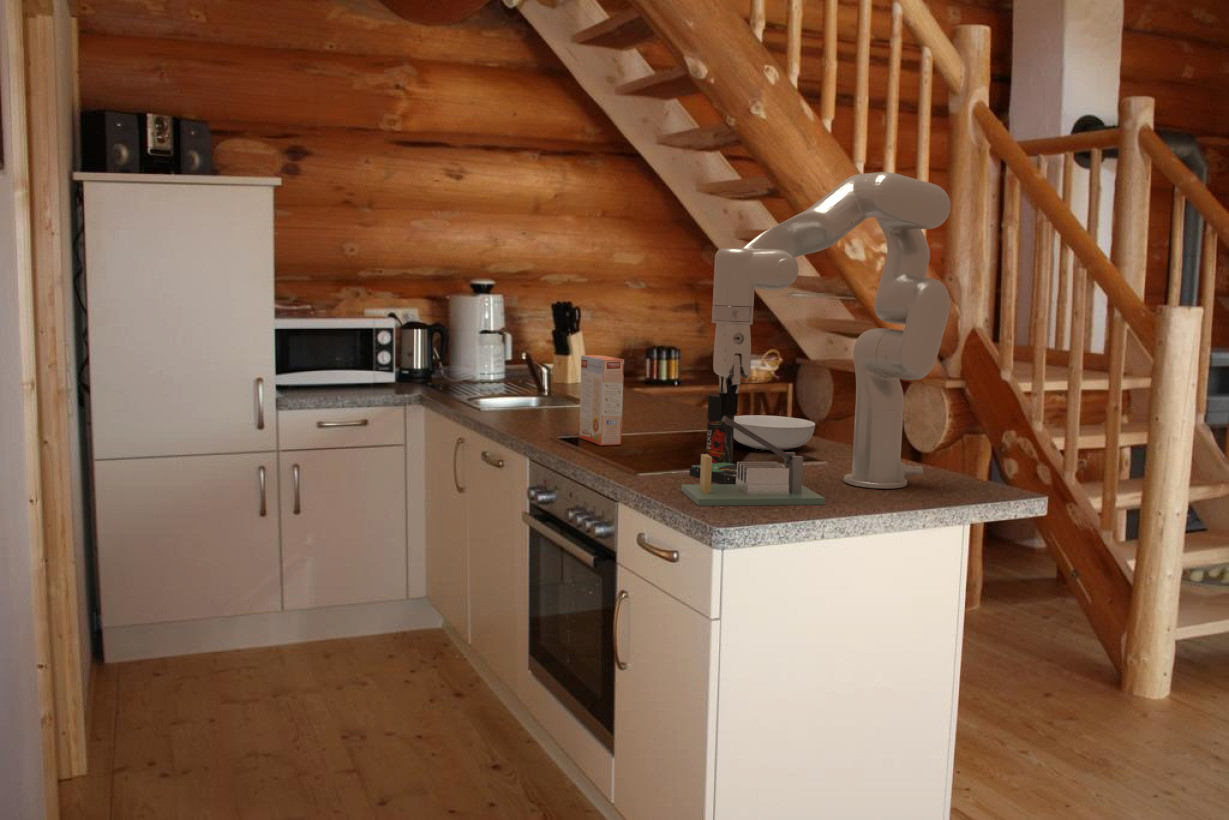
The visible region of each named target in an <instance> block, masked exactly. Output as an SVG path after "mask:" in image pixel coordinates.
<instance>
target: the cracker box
mask: <svg viewBox="0 0 1229 820" xmlns="http://www.w3.org/2000/svg"><path fill="white" fill-rule="evenodd" d="M580 356H581V359H580V360H581V361H580V362H581V363H580V394H579V395H580V398H579V425H578V426H579V428H578V429H579V431H578V432H579V433H578V438H580V439H582V440H585V441H588V442H590V443H593V444H596V445H598V446H601V447H604V446H605V447H606V446H608V447H609V446H621V445H622V429H623V428H622V427H623V426H622V425H623V402H624V401H623V399H624V372H625V359H623V358H618V357H613V356H609V355H602V354H583V355H582V354H581V355H580Z"/></svg>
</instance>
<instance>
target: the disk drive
mask: <svg viewBox="0 0 1229 820" xmlns="http://www.w3.org/2000/svg"><path fill="white" fill-rule="evenodd" d="M700 471H701V464H696V465H695V464H691V467H690V468H689V476H691V477H695V478H699V479H700ZM736 477H737V463H735V462H732V463H730V462H721V463H712V473H711V483H717V484H736Z"/></svg>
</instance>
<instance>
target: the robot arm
mask: <svg viewBox="0 0 1229 820" xmlns="http://www.w3.org/2000/svg"><path fill="white" fill-rule="evenodd" d="M951 208H952V207H951V200H950V196H949V195H948V193H947V191H945V190H944V189H943V188H942V187H941V186H939V185H938V184H934V183H932V182H928V181H924V180H920V179H917V178H913V177H910V176H906V175H903V174H900V173H894V172H888V171H884V172H883V171H881V172H870V173H869V172H868V173H867V172H865V173H858V174H854V175H851V176H849V177H847V178H846V179H844V180H843V181H841V182H840V183H839V184H838V185H836V186H835V187H834V188H833V189H831V190H830V191H828V193H827V194H825V195H824V196H822V197H821V198H820V199H819V200H818V201H816V202H815V203H814V204H813V205H811V206H810V207H808V208H807V209H805V210H804V211H802V212H801V213H798V214H796V215H794V216H792V217H790V218H788V219H786V220H784V221H783V222H780V223H778V224H777V225H776V224H775V226H772V227H770V228H769V229H767V230H765V231H763V232H761V233H760V234H759V235H757V236H756V237H754V238H753V239H752V240H751V241H749V242H748V243H747V244H746V245H744V246H743V247H742V248H735V247H734V248H730V247H729V248H728V247H727V248H720V249H718V250H717V251H716V253H715V254H714V268H713V269H714V271H713V272H714V273H713V293H712V295H713V296H712V307H711V308H712V309H711V310H712V312H711V313H712V314H711V324H716V325H715V332H714V343H713V344H714V345H713V357H712V359H713V360H712V361H713V363H712V366H713V370H712V371H713V372H714V373H715V374H716V375H718V382H719V387H718V388H719V392H718V394H719V410H718V412H719V414H721V415H734V416H738V408H739V406H738V403H739V389H740V385H741V378H744V379H749V378H750V376H751V375H752V374H751V372H752V371H751V370H752V366H751V365H752V343H751V342H752V336H751V327H750V326H751V325H753V323H754V322H753V321H754V320H753V319H754V306H755V305H754V304H755V303H754V302H755V290H757V289H758V290H761V289H762V290H767V291H768V290H771V291H777V290H779V291H780V290H784V289H786V288H788V287H789V286H790V287H791V285H792V284H794V282H795V281H796V280H797V278H798V276H799V264H798V261H797V259H796V258H798V257H801V256H805V255H809V254H813V253H814V254H815V253H817V252H820V251H823V250H825V249H828V248H831V247H833V246H834V245H836V244H837V243H838V242H839V241H840V240H842V239H843V238H844V237H845V236H846V235H848V234H849V233H851V231H853V230H854V229H855V228H856V227H858V226H859V225H860V224H862V223H863V222H864V221H865V220H867V219H870V218H875V220H876V222H877V224H878V225H879V227H880V229H881V231H882V233H883V235H884V237H885V242H886V248H887V250H886V251H887V252H886V257H885V261H884V266H883V270H882V273H881V275H880V276H881V277H880V279H879V283H878V287H877V290H876V294H875V297H874V298H875V299H874V303H873V304H874V307H873V309H874V313H875V316H876V317H877V318H878V319H879V320H881V321H882V322H885V323H889V324H895V325H904V329H903V330H900V329H894V328H884V327H883V328H882V327H881V328H871V329H868V330H865V331H864V332H862V333H861V334H860V335H859V336H858V337H857V339H856V340H855V343H854V346H853V351H852V356H853V357H852V358H853V367H854V372H855V407H854V408H855V410H854V424H853V425H854V427H853V428H854V429H853V445H852V446H853V447H852V449H853V450H852V464H851V465H852V468H851V473H847V474H845V475H844V476H843V481H844V483H846V484H848V485H851V486H855V487H861V488H869V489H883V490H884V489H886V490H887V489H899V488H900V489H901V488H906V486H907V485H908V479H907V478H906V477H908V476H922V475H923V473H924V469H923V468H924V467H923V466H922V465H908V464H906V463H904V462H902V461H901V455H902V442H903V441H902V439H903V438H902V437H903V424H904V423H903V421H904V409H905V406H904V405H905V395H904V391H903V386H902V383H901V381H900V379H901V380H902V379H903V380H909V381H910V380H911V381H914V380H915V381H916V380H921V379H924V378H925V377H927V376H928V374H930V372H931V371H932V370H933V368H934V366H935V364H936V361H937V358H938V356H939V352H940V348H941V345H942V341H943V337H944V334H945V332H946V331H945V330H946V326H947V323H948V320H949V315H950V311H951V299H950V294H949V291H948V289H947V287H946V286H945V284H944V283H943V282H941V281H940V280H939V279H935V278H933V277H932V278H931V277H927V274H928V268H929V263H930V259H931V254H930V253H931V251H930V246H929V243H928V240H927V238H926V236H925V234H924V232H923V230H932V229H936V228H938V227H940V226H942V225H943V224H944V223H945V222H946V220H947V219H948V218H949V216H950V213H951Z"/></svg>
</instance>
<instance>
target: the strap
mask: <svg viewBox="0 0 1229 820" xmlns="http://www.w3.org/2000/svg"><path fill="white" fill-rule="evenodd" d="M722 421H724V422H725V423H727V424H728V425H730V426H732V427H733V428H735V429H737V430H738V431H740V432H742V433H743V434H745V435H747V436H748V437H750V438H751V439H753V440H755V441H756V442H758V443H760V444H761V445H763V446H765V447H766V448H768V449H770V450H771V451H770V452H773V453H774V454H776V455H778V456H779V457H780V458H783V459H784V460H785V459H786V460H787V462H788V463H789V464H790V465H792V456H794V455H788V454H787V453H785V451H782V450H780V449H779V448H777V447H775V446H774V445H772V444H770V443H769V442H767V441H766V440H764V439H762V438H761V437H759V436H757V435H756V434H754V433H752V432H751V431H749V430H747V429H746V428H744V427H743V426H741V425H739V424H738V423H736V422H734V421H733V420H731V419H729V418H728V417H726V416H723V418H722Z"/></svg>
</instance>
